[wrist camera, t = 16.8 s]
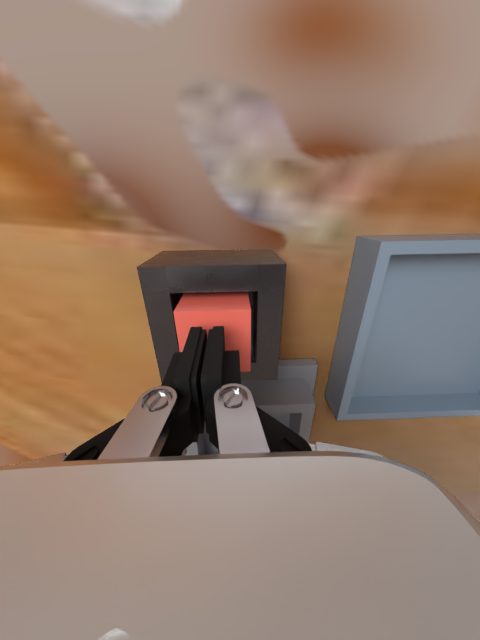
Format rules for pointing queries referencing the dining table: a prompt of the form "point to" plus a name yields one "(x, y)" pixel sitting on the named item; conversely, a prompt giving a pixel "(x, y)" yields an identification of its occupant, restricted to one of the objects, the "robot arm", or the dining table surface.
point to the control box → (217, 276)
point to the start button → (217, 319)
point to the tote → (409, 330)
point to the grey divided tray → (278, 400)
